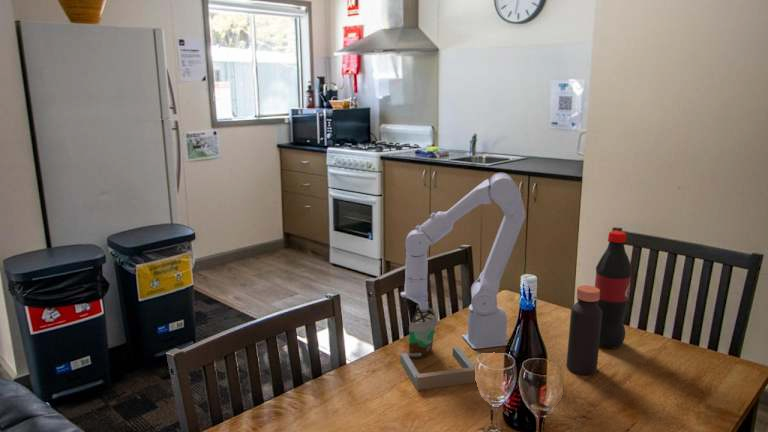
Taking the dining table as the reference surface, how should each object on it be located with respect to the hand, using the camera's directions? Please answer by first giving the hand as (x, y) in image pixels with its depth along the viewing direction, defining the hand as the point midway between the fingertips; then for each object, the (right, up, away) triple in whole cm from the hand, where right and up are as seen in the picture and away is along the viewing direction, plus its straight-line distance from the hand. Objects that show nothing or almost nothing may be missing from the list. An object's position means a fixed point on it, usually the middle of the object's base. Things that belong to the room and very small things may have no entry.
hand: (415, 325), depth 146 cm
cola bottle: (+50, -4, -2) cm, 50 cm away
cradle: (+5, -7, -16) cm, 18 cm away
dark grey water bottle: (+39, -8, -15) cm, 42 cm away
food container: (+2, -5, -7) cm, 9 cm away
